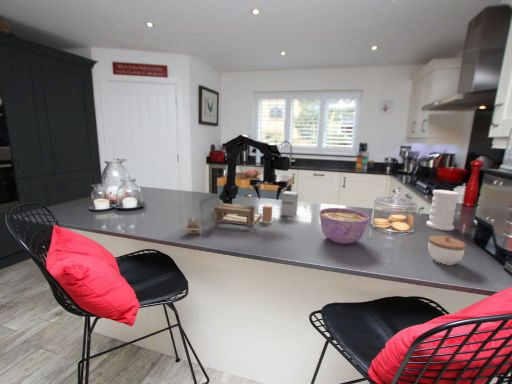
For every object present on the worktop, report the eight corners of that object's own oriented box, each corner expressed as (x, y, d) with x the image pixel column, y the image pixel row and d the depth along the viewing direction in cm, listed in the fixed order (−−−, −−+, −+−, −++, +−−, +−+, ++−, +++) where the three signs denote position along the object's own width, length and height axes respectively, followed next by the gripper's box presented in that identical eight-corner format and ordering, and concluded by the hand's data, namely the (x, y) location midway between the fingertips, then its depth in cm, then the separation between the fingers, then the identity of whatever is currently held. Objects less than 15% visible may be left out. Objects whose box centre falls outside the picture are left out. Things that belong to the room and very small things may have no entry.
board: (232, 213, 145) (232, 210, 145) (261, 216, 141) (261, 213, 141) (220, 221, 131) (220, 218, 131) (253, 225, 126) (253, 222, 126)
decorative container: (459, 230, 127) (466, 194, 124) (437, 230, 126) (443, 194, 123) (441, 222, 139) (447, 189, 135) (421, 222, 138) (426, 189, 134)
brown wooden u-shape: (221, 217, 132) (221, 203, 130) (254, 221, 127) (254, 206, 126) (214, 222, 123) (214, 207, 122) (248, 226, 119) (248, 211, 117)
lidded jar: (429, 264, 91) (434, 239, 89) (422, 252, 101) (426, 229, 99) (466, 271, 87) (472, 244, 85) (455, 257, 97) (460, 234, 95)
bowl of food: (313, 231, 121) (314, 207, 118) (356, 232, 120) (359, 208, 118) (322, 249, 101) (324, 220, 99) (374, 251, 101) (378, 222, 98)
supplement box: (280, 215, 144) (281, 193, 142) (284, 212, 151) (285, 190, 148) (293, 217, 142) (295, 194, 139) (297, 213, 148) (298, 192, 146)
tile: (263, 217, 140) (263, 216, 139) (275, 218, 138) (275, 217, 138) (258, 222, 131) (258, 221, 131) (271, 223, 129) (271, 222, 129)
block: (264, 217, 137) (264, 205, 135) (271, 218, 136) (272, 205, 134) (262, 220, 133) (262, 206, 132) (270, 221, 132) (270, 207, 130)
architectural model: (199, 237, 111) (198, 220, 109) (183, 236, 111) (182, 220, 110) (201, 234, 114) (201, 218, 113) (185, 233, 115) (185, 217, 113)
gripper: (290, 168, 134) (289, 197, 137) (255, 166, 139) (255, 195, 142) (286, 170, 124) (285, 202, 127) (249, 168, 129) (248, 199, 132)
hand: (268, 199), depth 132 cm, fingers open, 9 cm apart
